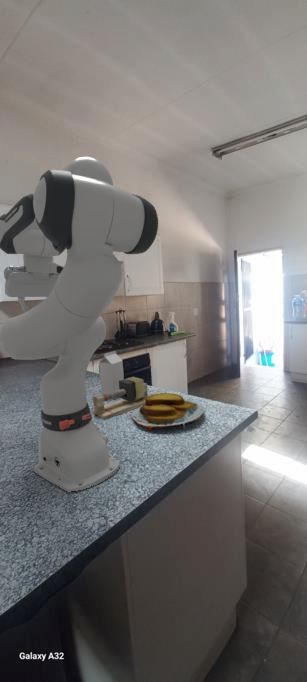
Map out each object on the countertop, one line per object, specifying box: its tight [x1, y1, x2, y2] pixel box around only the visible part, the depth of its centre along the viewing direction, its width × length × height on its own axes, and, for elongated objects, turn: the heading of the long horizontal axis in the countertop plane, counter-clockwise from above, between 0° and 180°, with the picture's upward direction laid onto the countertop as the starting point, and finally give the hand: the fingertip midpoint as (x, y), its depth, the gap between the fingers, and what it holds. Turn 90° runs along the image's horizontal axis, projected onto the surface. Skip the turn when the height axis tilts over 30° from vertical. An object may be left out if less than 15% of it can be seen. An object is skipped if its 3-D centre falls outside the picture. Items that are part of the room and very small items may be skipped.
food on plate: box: [130, 392, 205, 432], centre depth 101 cm, size 25×25×7 cm
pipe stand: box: [91, 382, 149, 420], centre depth 111 cm, size 9×22×7 cm, turn 131°
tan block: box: [125, 376, 145, 399], centre depth 115 cm, size 6×4×7 cm, turn 41°
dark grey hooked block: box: [119, 378, 135, 402], centre depth 113 cm, size 6×2×7 cm, turn 41°
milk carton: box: [98, 350, 125, 400], centre depth 125 cm, size 7×7×19 cm
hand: (40, 310), depth 96 cm, fingers open, 8 cm apart
